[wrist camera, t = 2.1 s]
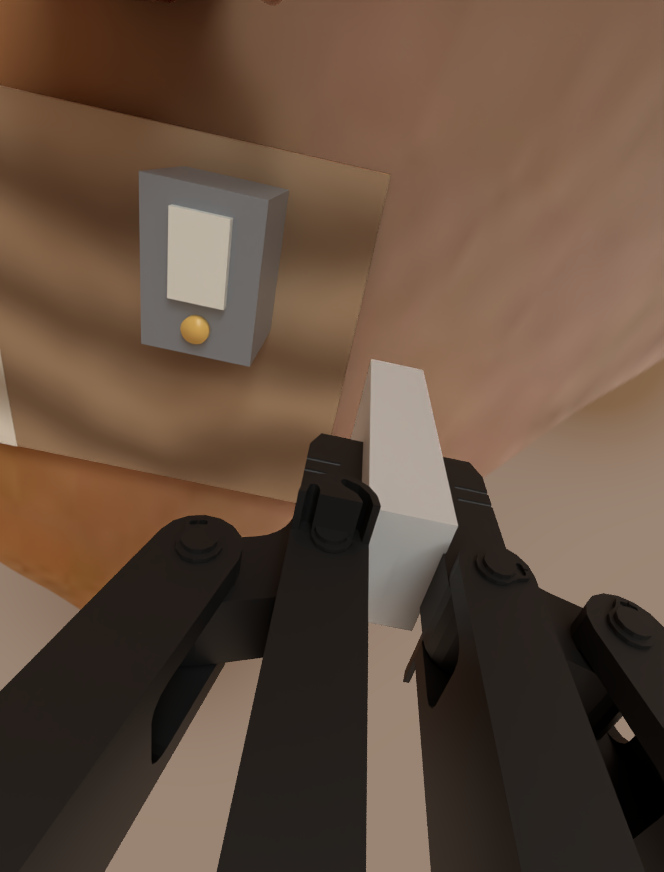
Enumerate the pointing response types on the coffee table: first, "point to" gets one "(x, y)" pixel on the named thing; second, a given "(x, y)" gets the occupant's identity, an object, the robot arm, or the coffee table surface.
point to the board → (121, 302)
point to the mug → (268, 0)
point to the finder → (208, 261)
